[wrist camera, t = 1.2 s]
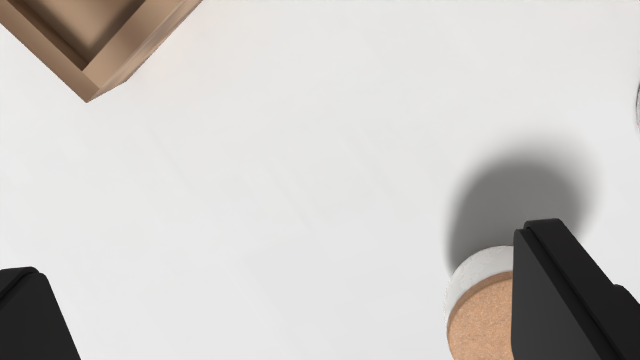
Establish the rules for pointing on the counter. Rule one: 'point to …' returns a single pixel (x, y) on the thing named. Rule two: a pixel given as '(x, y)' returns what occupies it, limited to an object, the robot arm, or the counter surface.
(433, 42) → the counter surface
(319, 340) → the counter surface
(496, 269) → the lidded jar
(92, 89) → the open walnut box
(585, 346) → the robot arm
